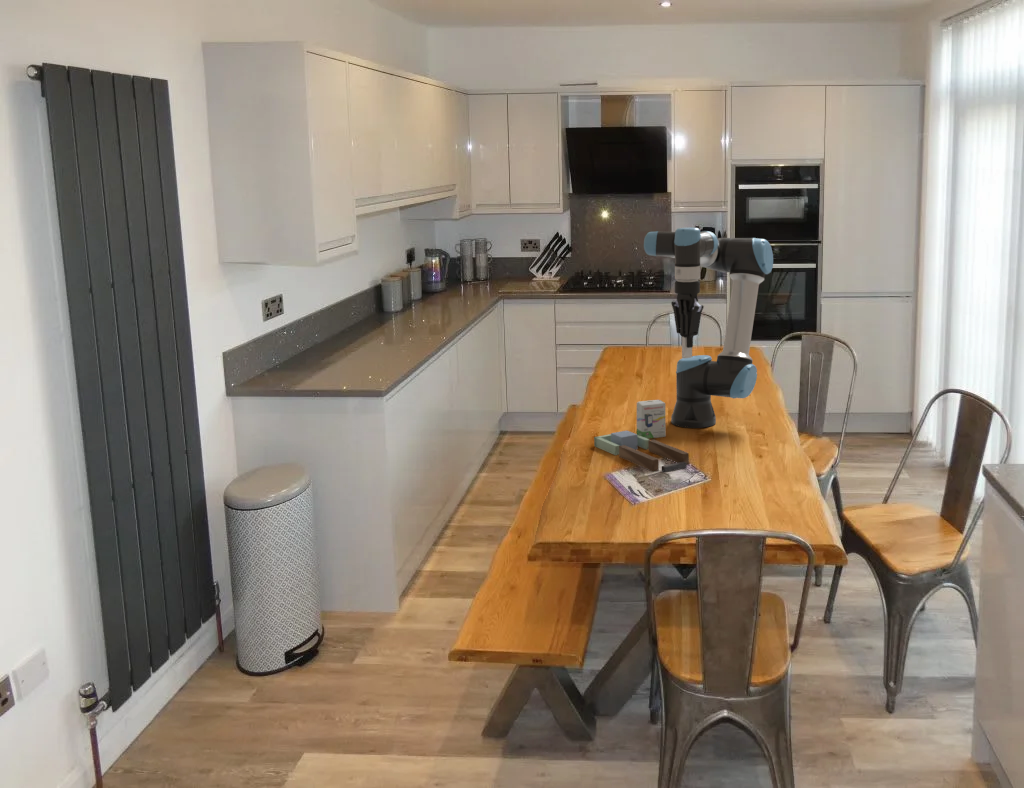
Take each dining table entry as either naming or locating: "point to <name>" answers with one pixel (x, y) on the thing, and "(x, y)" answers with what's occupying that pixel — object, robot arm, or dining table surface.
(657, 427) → the ink box
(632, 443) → the block
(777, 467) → the dining table surface
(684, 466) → the bar
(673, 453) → the channel
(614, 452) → the frame
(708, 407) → the robot arm
